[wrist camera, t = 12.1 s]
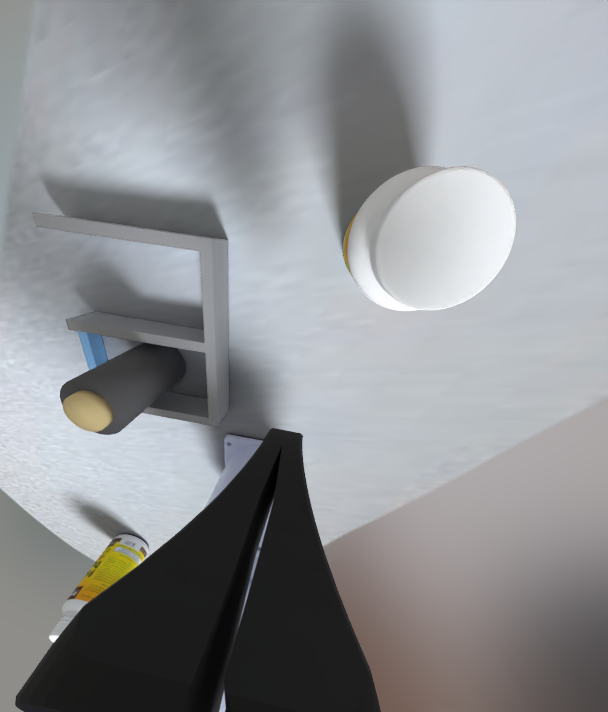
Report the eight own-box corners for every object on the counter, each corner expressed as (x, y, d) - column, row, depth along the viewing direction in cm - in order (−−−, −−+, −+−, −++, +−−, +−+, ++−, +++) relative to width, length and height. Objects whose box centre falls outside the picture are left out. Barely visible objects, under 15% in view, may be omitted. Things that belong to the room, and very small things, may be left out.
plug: (187, 386, 23) (124, 446, 16) (143, 377, 23) (62, 434, 16) (183, 343, 21) (110, 391, 14) (135, 335, 21) (40, 378, 14)
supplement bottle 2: (328, 265, 17) (321, 288, 8) (369, 181, 15) (422, 85, 6) (394, 300, 17) (455, 356, 9) (444, 223, 15) (597, 193, 6)
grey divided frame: (229, 409, 23) (217, 426, 21) (106, 387, 24) (83, 401, 22) (227, 239, 17) (211, 238, 15) (61, 215, 18) (20, 211, 15)
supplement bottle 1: (119, 527, 35) (42, 627, 26) (154, 542, 36) (92, 646, 27) (112, 543, 37) (39, 640, 28) (145, 557, 38) (85, 657, 29)
